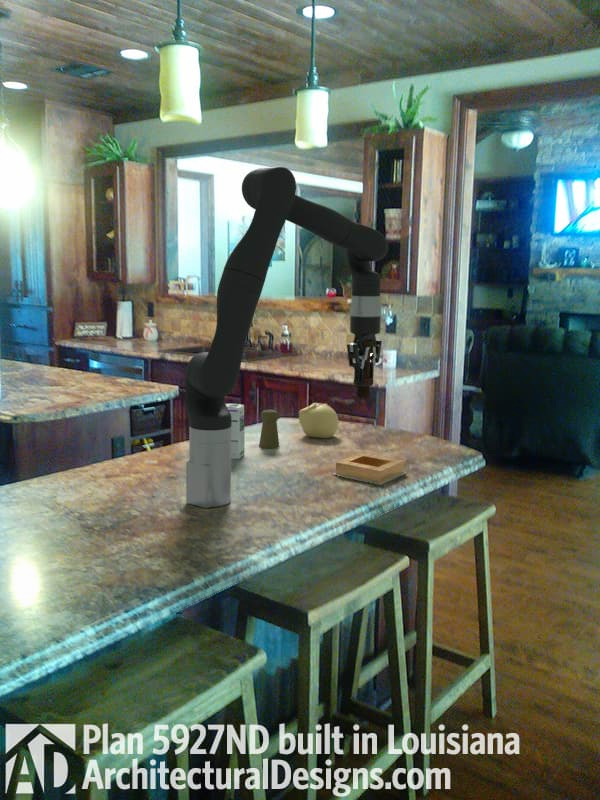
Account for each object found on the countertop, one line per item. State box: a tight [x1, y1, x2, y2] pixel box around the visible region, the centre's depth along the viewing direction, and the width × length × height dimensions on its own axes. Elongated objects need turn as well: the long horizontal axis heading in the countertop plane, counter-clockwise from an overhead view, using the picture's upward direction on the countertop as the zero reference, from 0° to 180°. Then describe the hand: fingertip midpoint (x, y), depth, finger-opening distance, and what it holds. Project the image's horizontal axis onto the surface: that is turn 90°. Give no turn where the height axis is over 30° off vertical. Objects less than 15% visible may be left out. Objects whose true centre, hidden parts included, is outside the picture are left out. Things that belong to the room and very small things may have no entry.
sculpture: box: [298, 402, 340, 439], centre depth 228 cm, size 11×12×11 cm
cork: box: [258, 409, 280, 450], centre depth 213 cm, size 6×6×11 cm
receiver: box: [332, 452, 407, 486], centre depth 187 cm, size 14×14×3 cm
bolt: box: [353, 340, 376, 401], centre depth 181 cm, size 6×5×15 cm
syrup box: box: [226, 403, 245, 460], centre depth 200 cm, size 6×6×14 cm
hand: (363, 381), depth 182 cm, fingers closed on bolt, 4 cm apart
